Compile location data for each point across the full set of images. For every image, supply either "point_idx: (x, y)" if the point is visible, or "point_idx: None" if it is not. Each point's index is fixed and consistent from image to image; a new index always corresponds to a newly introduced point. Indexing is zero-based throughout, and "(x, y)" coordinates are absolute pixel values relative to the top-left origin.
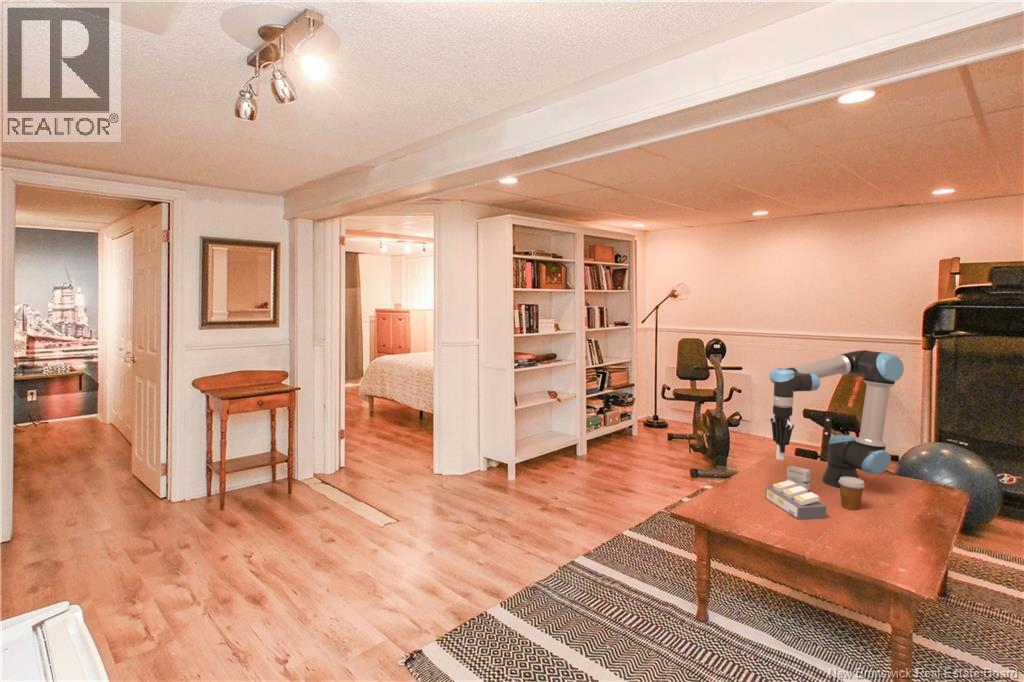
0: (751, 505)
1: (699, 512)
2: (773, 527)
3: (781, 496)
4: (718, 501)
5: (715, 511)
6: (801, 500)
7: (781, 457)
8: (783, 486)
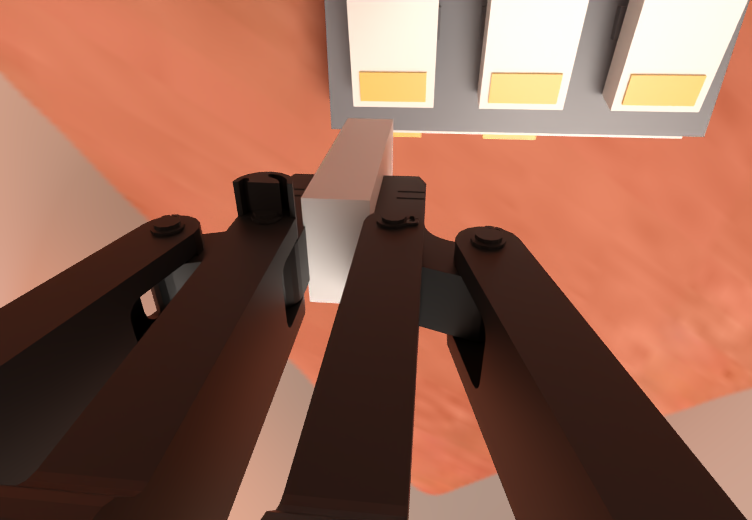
0: None
1: (450, 455)
2: (681, 293)
3: (497, 125)
4: None
5: (454, 407)
6: (697, 105)
7: (391, 167)
8: (427, 66)
